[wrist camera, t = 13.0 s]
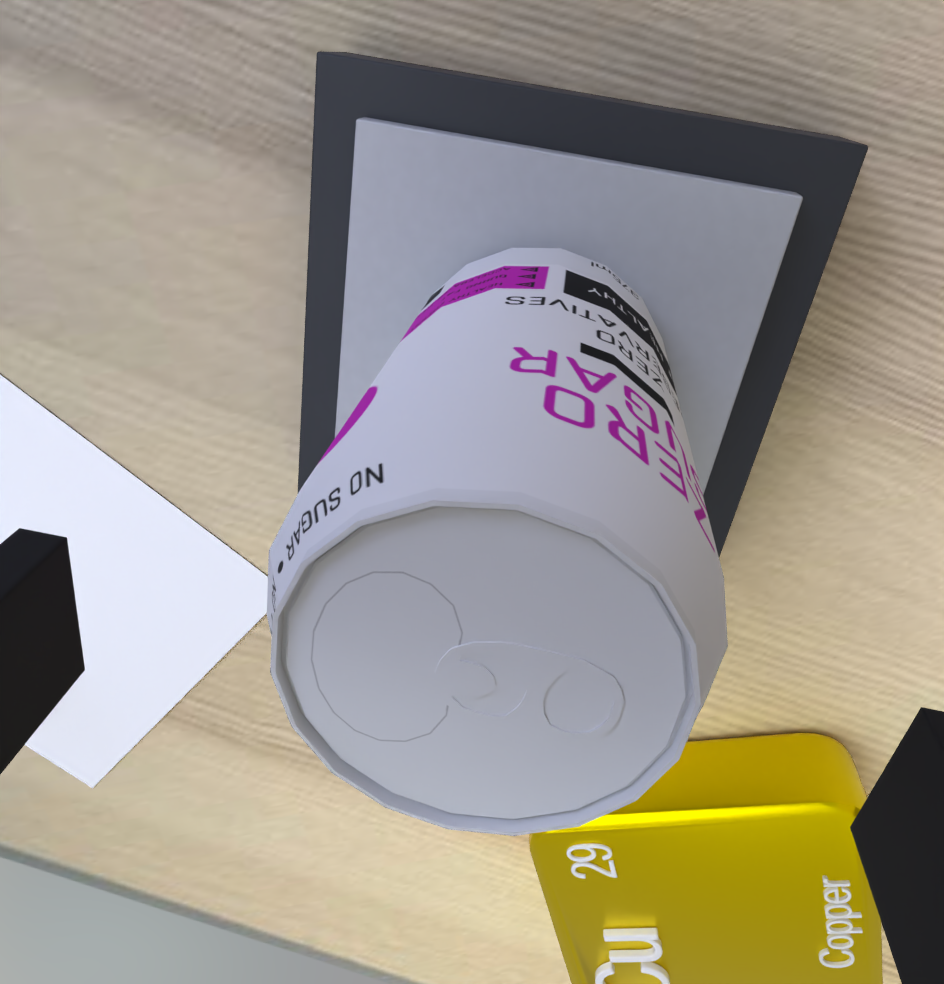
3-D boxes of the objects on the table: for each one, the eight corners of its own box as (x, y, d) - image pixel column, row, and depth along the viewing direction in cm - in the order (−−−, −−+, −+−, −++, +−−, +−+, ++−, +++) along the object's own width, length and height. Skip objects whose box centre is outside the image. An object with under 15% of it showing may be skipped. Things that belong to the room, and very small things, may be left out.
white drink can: (399, 457, 28) (232, 804, 15) (429, 218, 24) (237, 407, 11) (626, 503, 28) (657, 898, 15) (695, 268, 24) (825, 524, 11)
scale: (344, 51, 26) (307, 50, 22) (844, 137, 25) (882, 149, 22) (319, 481, 33) (289, 527, 30) (698, 555, 33) (710, 611, 29)
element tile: (859, 931, 42) (888, 1026, 38) (581, 938, 46) (579, 1026, 42) (850, 724, 36) (884, 811, 32) (525, 750, 39) (518, 832, 35)
